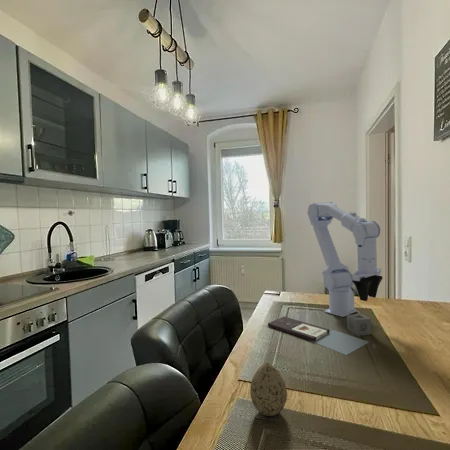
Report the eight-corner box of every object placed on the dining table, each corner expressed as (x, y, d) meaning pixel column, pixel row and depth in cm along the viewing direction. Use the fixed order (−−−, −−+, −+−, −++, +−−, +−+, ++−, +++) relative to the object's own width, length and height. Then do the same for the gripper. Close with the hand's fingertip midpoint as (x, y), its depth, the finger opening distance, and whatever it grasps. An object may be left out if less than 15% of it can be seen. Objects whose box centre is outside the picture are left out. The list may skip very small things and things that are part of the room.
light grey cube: (371, 334, 92) (370, 318, 91) (356, 336, 91) (356, 320, 90) (361, 328, 96) (360, 313, 96) (347, 330, 96) (346, 315, 95)
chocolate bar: (283, 316, 107) (329, 329, 94) (284, 318, 107) (329, 332, 94) (267, 323, 101) (313, 338, 88) (268, 326, 101) (313, 341, 88)
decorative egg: (280, 399, 62) (278, 353, 62) (293, 422, 55) (291, 371, 55) (247, 404, 61) (245, 357, 61) (256, 428, 54) (254, 376, 53)
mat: (333, 330, 96) (333, 329, 96) (369, 342, 86) (369, 341, 86) (310, 341, 89) (310, 340, 89) (346, 355, 79) (346, 355, 79)
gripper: (367, 262, 89) (368, 306, 90) (390, 256, 97) (390, 296, 98) (346, 260, 95) (347, 301, 95) (369, 254, 103) (370, 292, 104)
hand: (367, 298), depth 97 cm, fingers open, 5 cm apart
